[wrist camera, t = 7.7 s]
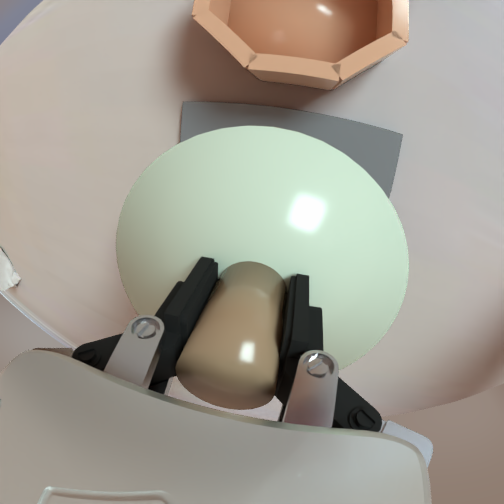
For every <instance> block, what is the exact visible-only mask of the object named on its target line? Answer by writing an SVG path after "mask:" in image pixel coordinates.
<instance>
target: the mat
mask: <svg viewBox="0 0 504 504" xmlns="http://www.w3.org/2000/svg"><path fill="white" fill-rule="evenodd" d="M248 125H254V126H273V127H279V128H284V129H289V130H293V131H298V132H301V133H304V134H306V135H309V136H312V137H314V138H317V139H319V140H322V141H324V142H326V143H327V144H329V145H331V146H333V147H334V148H336V149H338V150H340V151H341V152H343V153H344V154H346V155H347V156H348V157H349V158H351V159H352V160H353V161H355V162H356V163H357V164H358V165H359V166H361V167H362V168H363V169H364V170H365V171H366V172H367V173H368V174H369V175H370V176H371V177H372V178H373V179H374V180H375V182H376V183H377V184H378V185H379V186H380V187H381V188H382V190H383V191H384V193H385V194H386V196H387V197H388V199H389V196H390V192H391V188H392V184H393V180H394V176H395V171H396V167H397V162H398V157H399V152H400V147H401V142H402V137H403V134H400V133H396V132H393V131H390V130H386V129H383V128H379V127H376V126H372V125H368V124H364V123H360V122H356V121H352V120H347V119H343V118H338V117H334V116H329V115H323V114H318V113H312V112H307V111H300V110H294V109H287V108H279V107H271V106H262V105H251V104H239V103H222V102H183V107H182V121H181V138H180V143H181V142H183V141H185V140H188V139H190V138H192V137H194V136H197V135H199V134H203V133H206V132H210V131H214V130H218V129H222V128H229V127H238V126H248Z"/></svg>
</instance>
